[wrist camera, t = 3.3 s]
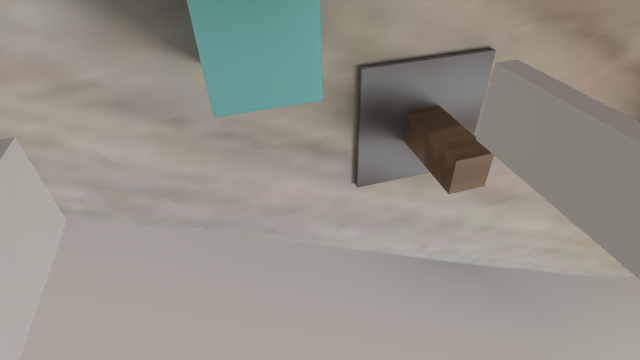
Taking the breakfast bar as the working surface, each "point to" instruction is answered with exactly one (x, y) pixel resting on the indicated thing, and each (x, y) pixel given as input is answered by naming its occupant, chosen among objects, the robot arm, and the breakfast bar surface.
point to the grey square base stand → (424, 120)
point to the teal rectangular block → (258, 52)
